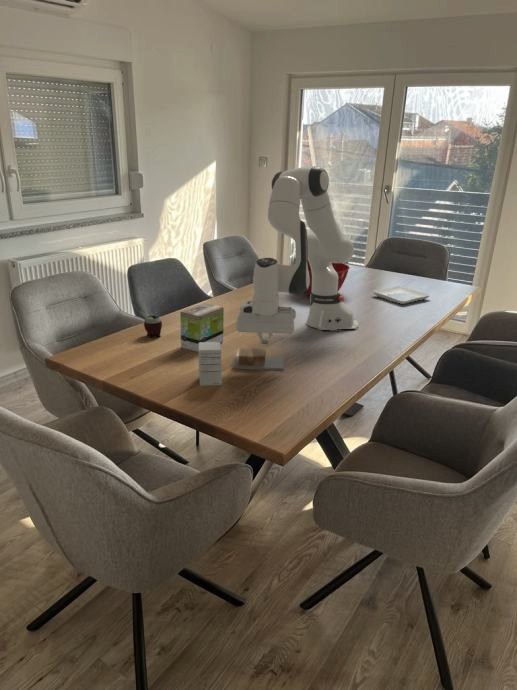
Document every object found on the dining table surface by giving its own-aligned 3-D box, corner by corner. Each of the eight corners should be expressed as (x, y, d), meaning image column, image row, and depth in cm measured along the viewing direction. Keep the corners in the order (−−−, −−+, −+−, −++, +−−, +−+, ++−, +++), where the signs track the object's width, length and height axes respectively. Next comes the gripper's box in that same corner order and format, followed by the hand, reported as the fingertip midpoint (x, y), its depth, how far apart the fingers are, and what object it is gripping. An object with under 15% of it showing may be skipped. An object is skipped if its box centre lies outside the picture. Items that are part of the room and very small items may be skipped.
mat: (284, 359, 194) (284, 357, 194) (283, 370, 185) (283, 368, 184) (235, 357, 195) (235, 355, 195) (232, 368, 186) (232, 366, 185)
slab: (265, 348, 192) (238, 347, 193) (264, 357, 185) (235, 356, 185) (265, 357, 193) (238, 356, 194) (264, 366, 186) (235, 365, 186)
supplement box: (199, 376, 179) (198, 341, 174) (221, 376, 180) (221, 341, 175) (199, 386, 172) (197, 350, 168) (222, 385, 173) (221, 349, 168)
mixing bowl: (356, 292, 281) (358, 264, 276) (333, 305, 259) (335, 274, 253) (308, 284, 295) (309, 257, 290) (283, 296, 273) (283, 266, 267)
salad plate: (430, 300, 270) (431, 294, 268) (402, 307, 258) (403, 300, 257) (398, 291, 286) (399, 285, 285) (370, 297, 274) (371, 290, 273)
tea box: (201, 353, 199) (200, 315, 193) (180, 348, 204) (178, 311, 198) (224, 341, 211) (224, 306, 205) (204, 336, 216) (203, 301, 210)
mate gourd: (141, 337, 214) (139, 301, 208) (152, 331, 220) (150, 296, 215) (157, 340, 211) (155, 304, 206) (167, 334, 218) (166, 298, 212)
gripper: (296, 304, 184) (294, 341, 189) (237, 302, 185) (237, 339, 190) (296, 310, 178) (294, 348, 183) (235, 308, 180) (235, 346, 185)
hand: (264, 344), depth 187 cm, fingers closed
